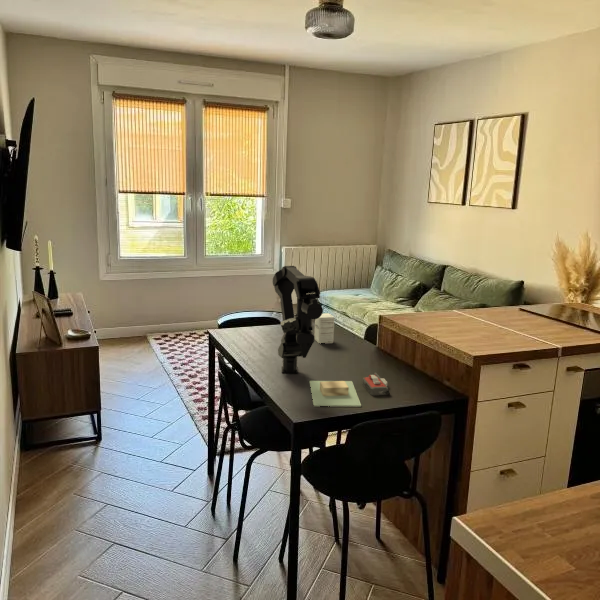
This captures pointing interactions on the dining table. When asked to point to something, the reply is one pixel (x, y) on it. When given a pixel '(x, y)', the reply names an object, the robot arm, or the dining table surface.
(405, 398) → the dining table surface
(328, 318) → the supplement box
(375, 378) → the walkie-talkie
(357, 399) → the rubber mat
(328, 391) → the brass block
